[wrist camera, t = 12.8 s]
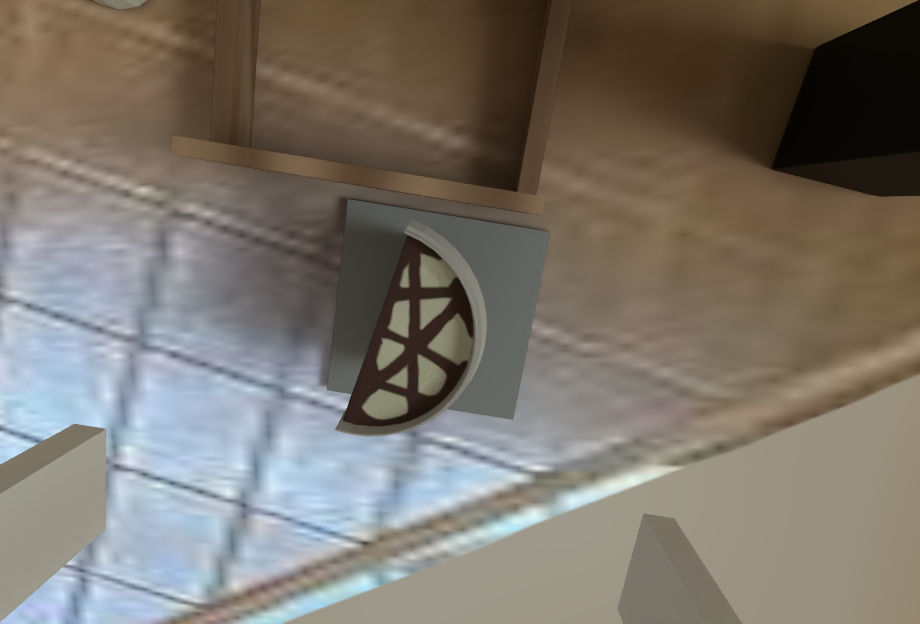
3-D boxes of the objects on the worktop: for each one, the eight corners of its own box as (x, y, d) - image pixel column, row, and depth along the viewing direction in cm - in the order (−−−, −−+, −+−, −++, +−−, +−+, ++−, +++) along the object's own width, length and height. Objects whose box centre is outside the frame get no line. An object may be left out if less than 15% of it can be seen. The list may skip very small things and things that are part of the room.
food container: (447, 404, 37) (439, 476, 27) (368, 375, 36) (331, 438, 26) (509, 248, 34) (525, 265, 24) (425, 216, 34) (407, 220, 24)
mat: (548, 231, 34) (550, 232, 34) (512, 416, 37) (513, 419, 37) (349, 199, 34) (347, 198, 34) (329, 387, 37) (326, 390, 36)
